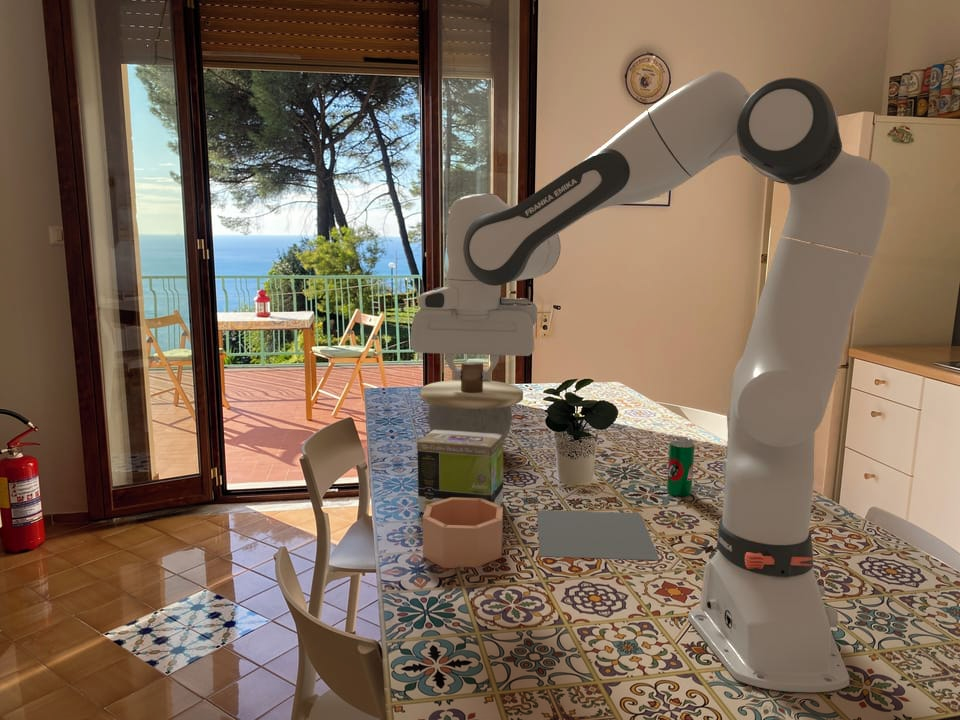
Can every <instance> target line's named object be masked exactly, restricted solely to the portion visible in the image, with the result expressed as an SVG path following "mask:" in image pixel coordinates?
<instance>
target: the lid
mask: <svg viewBox="0 0 960 720" xmlns="http://www.w3.org/2000/svg"><path fill="white" fill-rule="evenodd" d="M460 365H461V366H460V367H461V368H460V369H461V381H452V379H450V380H443V381H435V382H431V383H429V384H426V385H424V386H422V387H421V388H420V398H421V399H422V401H424V402H426V403H428V404H429V403H430V404H434V405H438V406H443V407H449V408H459V409H491V408H500V407H506V406H510V407H511V406H514V405H517V404H519V403H520V402H522V401H523V399H524V390H523V389H522V388H520V387H519V386H517V385H514V384H511V383H506V382H501V381H495V380H491V382H483V381H482V377H483V376H482V372H483V369H484V363H483V362H479V361H464V362H461V364H460Z"/></svg>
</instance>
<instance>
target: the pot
mask: <svg viewBox="0 0 960 720" xmlns="http://www.w3.org/2000/svg"><path fill="white" fill-rule="evenodd" d="M503 509H504V507H503V506H502V505H500V506H499V505H497V504H494V503H492V502H490V501H487V500H485V499H483V498H459V497H451V498H447V499H444V500H441V501H438V502H435V503H431V504H428V505H427V506H426V509H425V512H424V513H423V515H422V557H423V558H425V559H427V560H428V561H430V562H432V563H434V564H435V565H438V566H439V567H440V568H443V569H457V568H458V567H461V568H462V567H463V568H479V567H481V566H483V565H486V564H488V563H491V562H492V561H493V562H494V561H495V560H498V559H501V558H502V552H503V551H502V550H503V527H504V526H503V524H504V523H503V519H504V518H503V517H504V511H503Z"/></svg>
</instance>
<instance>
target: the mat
mask: <svg viewBox="0 0 960 720" xmlns="http://www.w3.org/2000/svg"><path fill="white" fill-rule="evenodd" d="M536 515H537V532H538V533H537V534H538V548H539V549H538V551H539V554H538V555H539V557H541V558H542V557H543V558H544V557H545V558H567V559H568V558H569V559H570V558H571V559H572V558H573V559H574V558H575V559H599V560H600V559H603V560H605V559H606V560H631V561H632V560H635V561H661V559H660V556H659V554H658V552H657V549H656V547H655V545H654V543H653V540H652V538H651V535H650V533H649V531H648V528H647V526H646V523H645V520H644V518H643V517H642V514H641V513H640V512H638V513H637V512H612V511H611V512H610V511H609V512H608V511H580V510H579V511H573V510H544V509H543V510H542V509H541V510H539V509H537V510H536Z"/></svg>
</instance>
